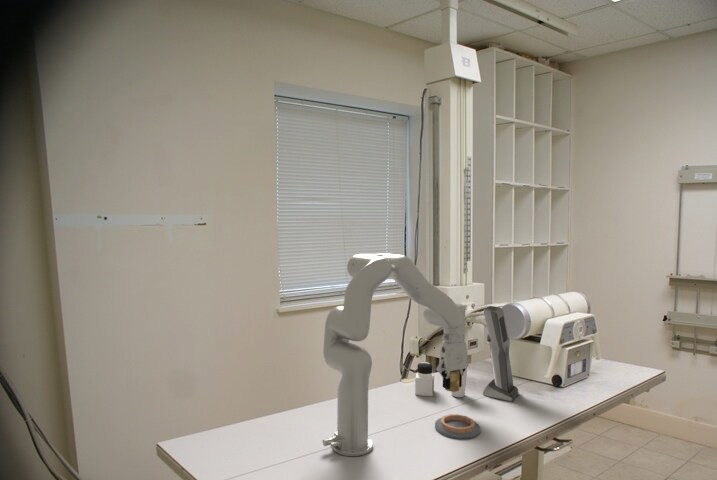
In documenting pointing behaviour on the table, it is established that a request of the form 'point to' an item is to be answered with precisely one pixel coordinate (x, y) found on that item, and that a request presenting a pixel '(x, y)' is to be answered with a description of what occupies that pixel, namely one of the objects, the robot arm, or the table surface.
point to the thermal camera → (499, 356)
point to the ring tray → (459, 424)
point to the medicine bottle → (424, 380)
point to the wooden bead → (454, 381)
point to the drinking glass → (461, 389)
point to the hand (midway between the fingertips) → (452, 386)
